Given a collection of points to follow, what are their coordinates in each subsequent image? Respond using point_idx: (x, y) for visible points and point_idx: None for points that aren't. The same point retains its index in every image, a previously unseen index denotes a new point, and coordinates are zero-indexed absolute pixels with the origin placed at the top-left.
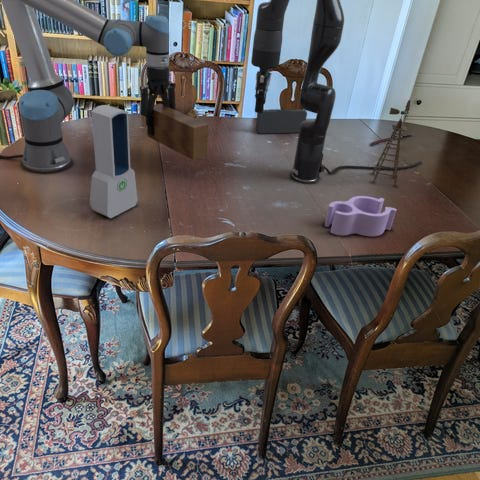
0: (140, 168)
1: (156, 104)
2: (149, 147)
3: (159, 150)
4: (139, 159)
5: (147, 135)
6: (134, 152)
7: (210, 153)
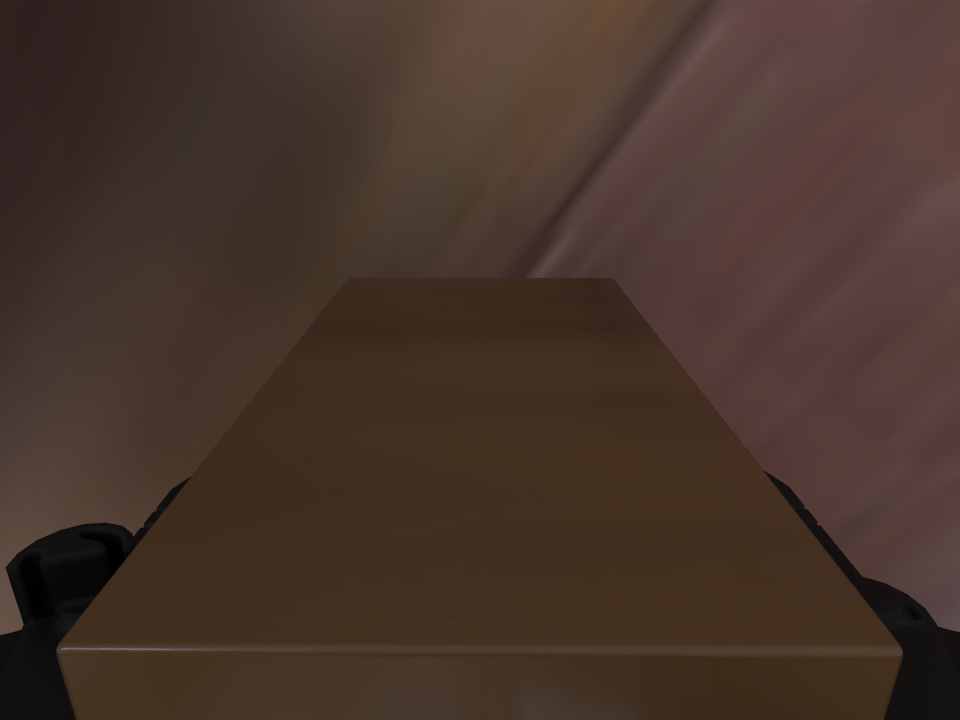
0: (163, 442)
1: (652, 653)
2: (538, 34)
3: (579, 184)
4: (250, 273)
5: (346, 284)
6: (292, 72)
7: (929, 512)
